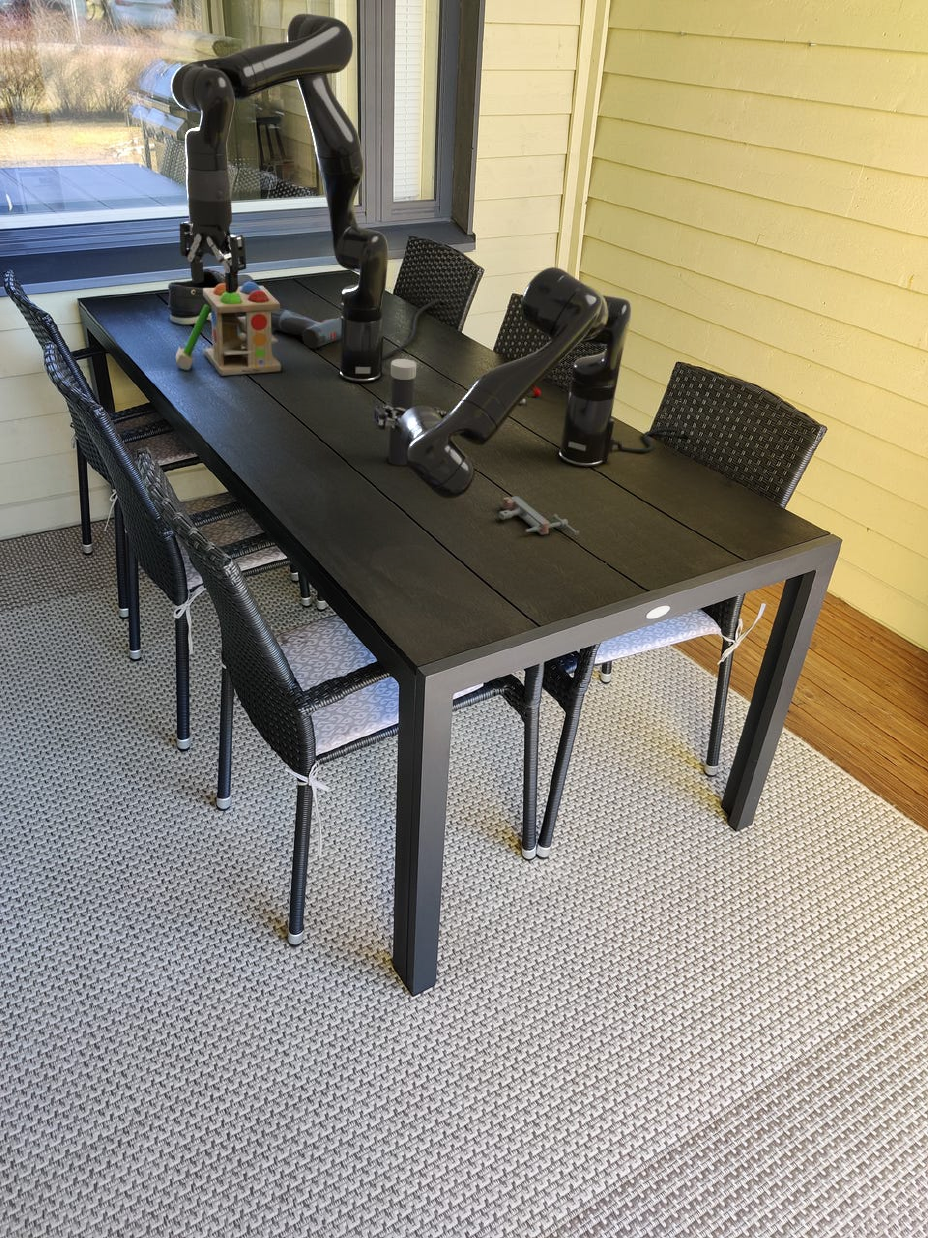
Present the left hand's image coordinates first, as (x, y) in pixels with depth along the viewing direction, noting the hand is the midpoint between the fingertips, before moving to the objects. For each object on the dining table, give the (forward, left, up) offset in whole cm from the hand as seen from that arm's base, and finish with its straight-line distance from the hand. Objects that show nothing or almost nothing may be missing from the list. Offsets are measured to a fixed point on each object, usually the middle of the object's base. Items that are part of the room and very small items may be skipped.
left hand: (214, 287), depth 183 cm
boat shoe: (-56, -58, -29) cm, 86 cm away
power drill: (-59, -27, -29) cm, 72 cm away
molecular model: (-61, +34, -29) cm, 76 cm away
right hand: (-1, +45, -11) cm, 47 cm away
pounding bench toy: (-28, -27, -29) cm, 48 cm away
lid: (-14, +34, -10) cm, 38 cm away
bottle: (-14, +34, -29) cm, 47 cm away
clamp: (-9, +68, -29) cm, 74 cm away
